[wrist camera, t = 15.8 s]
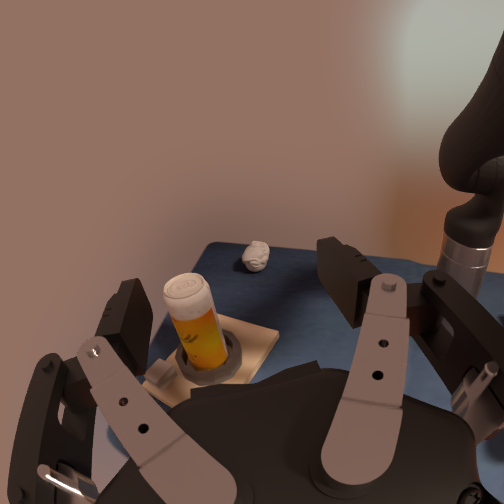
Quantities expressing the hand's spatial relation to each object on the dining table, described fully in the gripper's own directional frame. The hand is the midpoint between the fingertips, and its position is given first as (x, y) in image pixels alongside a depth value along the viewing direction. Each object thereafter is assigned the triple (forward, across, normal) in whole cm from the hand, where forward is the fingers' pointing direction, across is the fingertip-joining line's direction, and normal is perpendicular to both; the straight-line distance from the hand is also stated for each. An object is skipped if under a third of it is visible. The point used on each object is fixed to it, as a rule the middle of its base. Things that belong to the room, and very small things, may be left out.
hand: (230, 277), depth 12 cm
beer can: (+19, +6, +27) cm, 33 cm away
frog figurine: (+45, -7, +28) cm, 53 cm away
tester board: (+19, +6, +28) cm, 34 cm away
